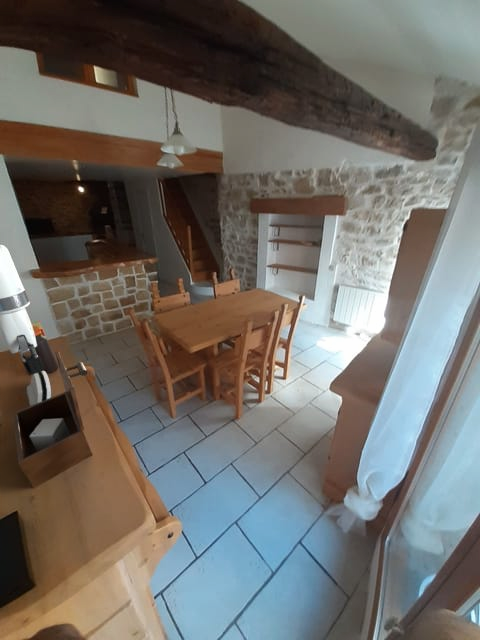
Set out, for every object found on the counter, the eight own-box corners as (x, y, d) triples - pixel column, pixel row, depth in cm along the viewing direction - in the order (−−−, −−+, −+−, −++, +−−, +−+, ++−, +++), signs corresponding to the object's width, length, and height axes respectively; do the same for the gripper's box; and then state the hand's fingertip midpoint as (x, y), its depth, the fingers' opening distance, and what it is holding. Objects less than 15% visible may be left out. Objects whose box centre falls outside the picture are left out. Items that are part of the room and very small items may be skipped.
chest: (33, 488, 65) (18, 464, 60) (25, 435, 78) (13, 412, 74) (92, 455, 73) (83, 431, 68) (76, 412, 87) (67, 391, 82)
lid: (69, 387, 62) (94, 379, 65) (54, 351, 76) (75, 346, 79) (80, 431, 68) (102, 421, 71) (65, 390, 82) (84, 384, 85)
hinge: (26, 390, 96) (28, 366, 94) (42, 387, 99) (43, 365, 97) (32, 415, 85) (34, 390, 83) (49, 412, 88) (52, 387, 86)
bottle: (60, 363, 111) (44, 323, 102) (56, 373, 105) (39, 331, 96) (41, 367, 109) (23, 326, 100) (37, 376, 103) (17, 334, 94)
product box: (59, 452, 72) (51, 435, 69) (37, 454, 72) (27, 436, 69) (71, 434, 78) (63, 417, 74) (50, 435, 77) (42, 418, 74)
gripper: (-15, 294, 60) (14, 353, 68) (-17, 319, 48) (18, 387, 56) (24, 287, 64) (47, 344, 72) (31, 309, 53) (58, 373, 61)
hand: (34, 363), depth 64 cm, fingers open, 9 cm apart
